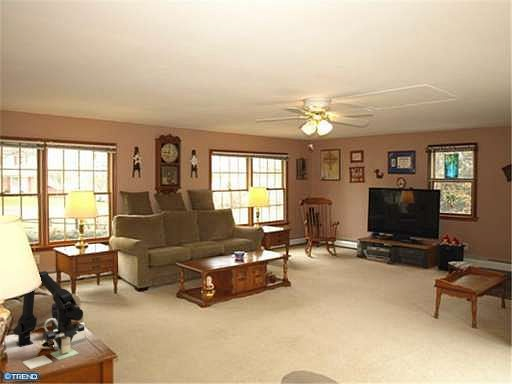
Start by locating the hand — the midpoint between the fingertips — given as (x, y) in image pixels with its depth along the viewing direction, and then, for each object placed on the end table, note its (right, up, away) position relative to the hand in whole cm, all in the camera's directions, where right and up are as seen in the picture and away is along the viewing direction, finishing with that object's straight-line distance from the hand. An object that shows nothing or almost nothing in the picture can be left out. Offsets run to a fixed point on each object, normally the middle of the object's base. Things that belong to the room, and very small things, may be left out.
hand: (64, 347), depth 211 cm
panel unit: (-6, -2, +15) cm, 16 cm away
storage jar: (-17, -2, +33) cm, 36 cm away
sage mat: (0, -3, 0) cm, 3 cm away
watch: (-16, -2, +20) cm, 25 cm away
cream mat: (-9, -3, -9) cm, 13 cm away
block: (0, -2, 0) cm, 2 cm away
